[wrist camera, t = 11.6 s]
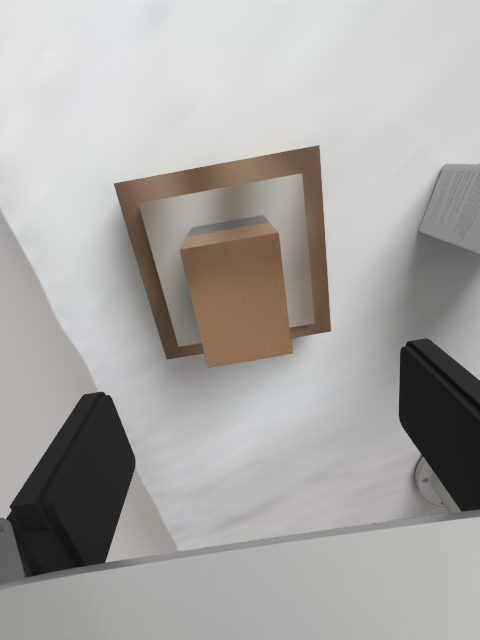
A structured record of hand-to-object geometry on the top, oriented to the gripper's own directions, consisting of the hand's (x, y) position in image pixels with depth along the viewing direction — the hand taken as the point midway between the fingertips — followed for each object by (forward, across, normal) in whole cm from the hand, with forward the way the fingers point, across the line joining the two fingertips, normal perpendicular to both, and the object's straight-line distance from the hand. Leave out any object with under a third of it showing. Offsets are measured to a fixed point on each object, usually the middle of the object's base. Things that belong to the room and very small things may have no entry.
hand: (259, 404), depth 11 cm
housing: (+15, 0, 0) cm, 15 cm away
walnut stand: (+21, 0, -1) cm, 21 cm away
